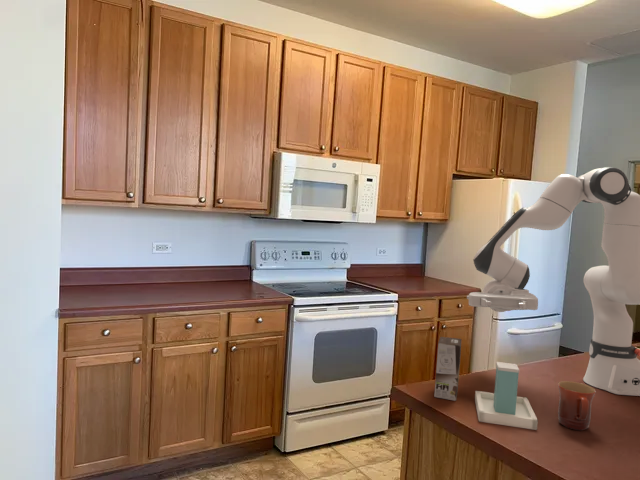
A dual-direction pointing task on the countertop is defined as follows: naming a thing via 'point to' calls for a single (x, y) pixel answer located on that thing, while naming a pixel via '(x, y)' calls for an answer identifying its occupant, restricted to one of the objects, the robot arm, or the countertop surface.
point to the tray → (521, 418)
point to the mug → (575, 404)
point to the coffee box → (448, 368)
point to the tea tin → (506, 388)
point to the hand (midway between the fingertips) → (505, 305)
